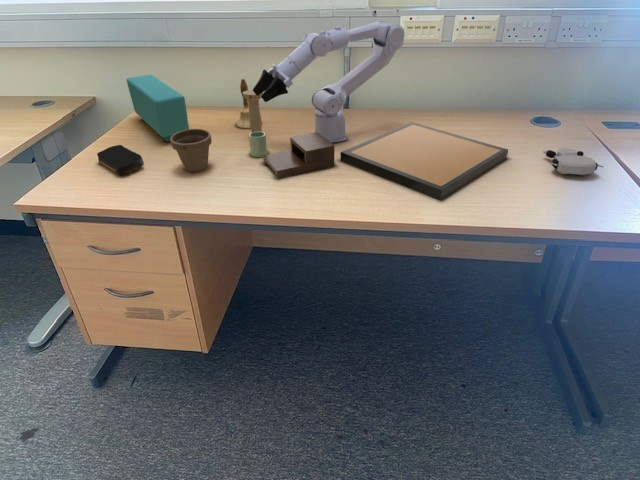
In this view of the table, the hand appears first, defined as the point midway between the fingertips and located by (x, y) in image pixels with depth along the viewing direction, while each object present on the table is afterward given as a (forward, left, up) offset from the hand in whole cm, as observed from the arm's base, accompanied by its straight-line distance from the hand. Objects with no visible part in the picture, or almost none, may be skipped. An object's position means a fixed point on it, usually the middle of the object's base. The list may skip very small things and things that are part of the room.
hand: (258, 96), depth 135 cm
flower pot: (+22, +2, -18) cm, 28 cm away
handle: (-2, -13, -18) cm, 22 cm away
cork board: (-41, +28, -18) cm, 53 cm away
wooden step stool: (-6, +14, -18) cm, 23 cm away
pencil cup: (+2, +1, -18) cm, 18 cm away
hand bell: (-3, -26, -18) cm, 32 cm away
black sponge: (+42, -10, -18) cm, 47 cm away
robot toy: (-74, +52, -18) cm, 92 cm away
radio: (+25, -37, -18) cm, 48 cm away
